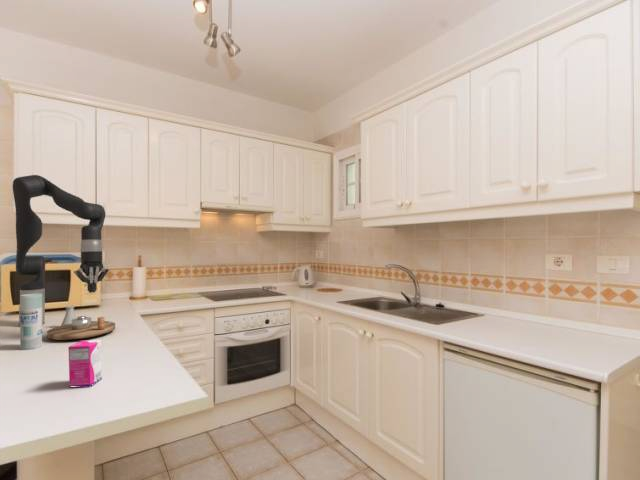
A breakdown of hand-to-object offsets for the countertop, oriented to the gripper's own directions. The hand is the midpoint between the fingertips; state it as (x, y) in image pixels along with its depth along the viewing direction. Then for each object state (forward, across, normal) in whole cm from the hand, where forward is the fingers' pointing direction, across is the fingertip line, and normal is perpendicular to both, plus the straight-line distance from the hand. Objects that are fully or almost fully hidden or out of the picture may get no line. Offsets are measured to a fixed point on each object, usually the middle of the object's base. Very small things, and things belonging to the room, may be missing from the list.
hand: (92, 292), depth 142 cm
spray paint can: (+19, -18, +7) cm, 27 cm away
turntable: (+17, +1, +9) cm, 20 cm away
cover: (+16, 0, +9) cm, 18 cm away
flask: (+18, +5, +28) cm, 34 cm away
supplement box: (+21, -26, -47) cm, 58 cm away
